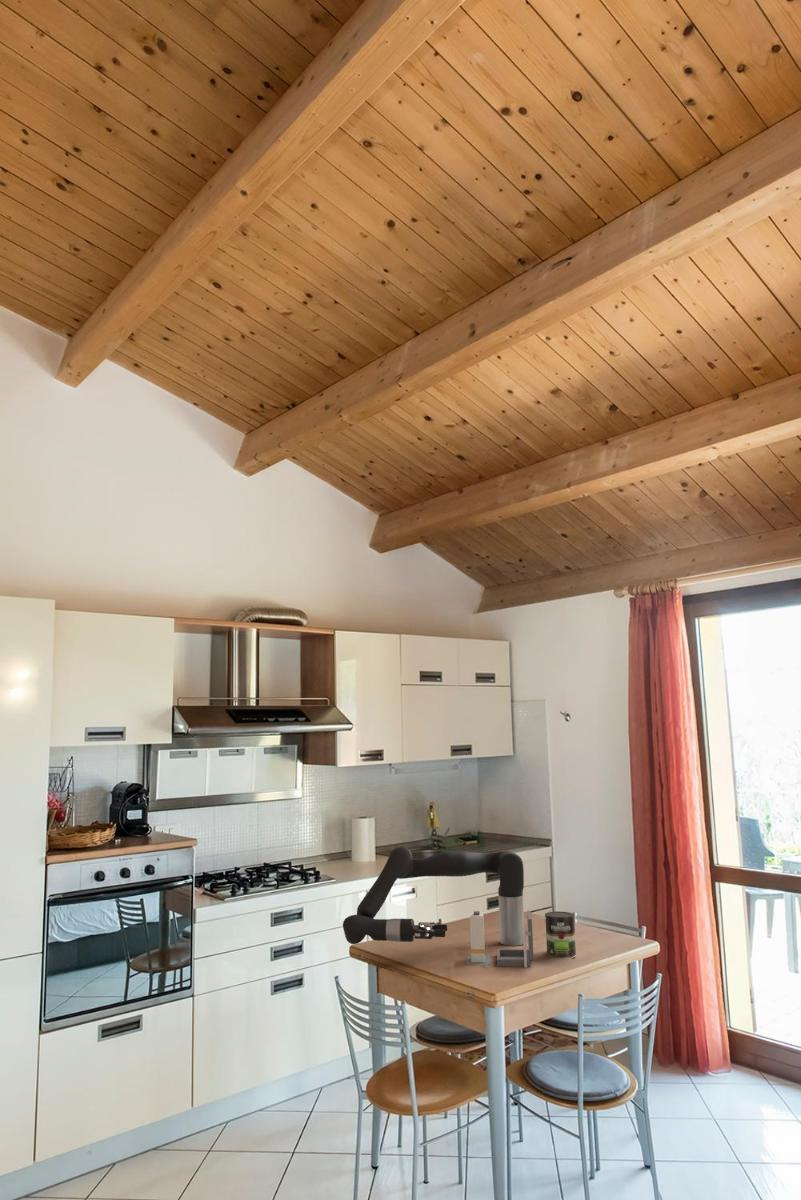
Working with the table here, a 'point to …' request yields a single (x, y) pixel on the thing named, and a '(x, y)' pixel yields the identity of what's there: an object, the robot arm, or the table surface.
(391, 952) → the table surface
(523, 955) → the grey dispenser stand
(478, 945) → the white bottle
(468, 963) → the mat
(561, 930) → the coffee can
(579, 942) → the table surface
